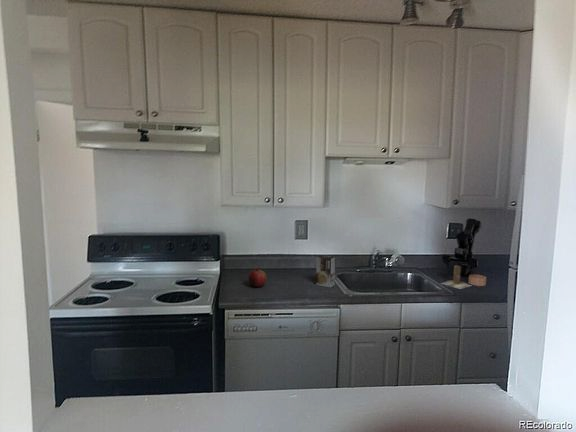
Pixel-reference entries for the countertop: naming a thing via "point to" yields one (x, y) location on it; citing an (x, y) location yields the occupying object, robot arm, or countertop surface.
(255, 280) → the fruit
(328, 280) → the coffee box
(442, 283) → the mat
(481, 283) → the bowl
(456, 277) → the lid
